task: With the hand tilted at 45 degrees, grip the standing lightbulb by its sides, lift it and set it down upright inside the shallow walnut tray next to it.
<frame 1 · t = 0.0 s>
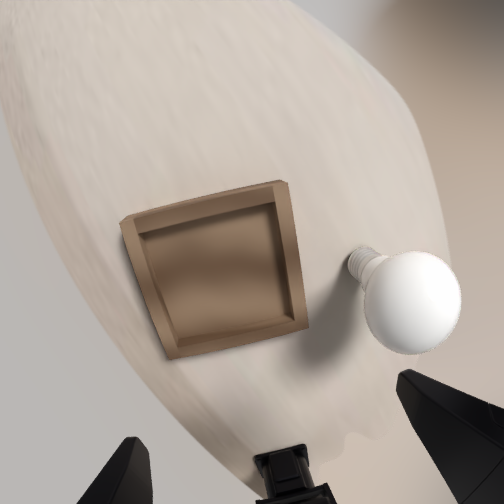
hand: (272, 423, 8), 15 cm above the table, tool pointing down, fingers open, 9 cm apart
walnut tray: (219, 269, 22), on the table
lightbulb: (357, 258, 24), on the table
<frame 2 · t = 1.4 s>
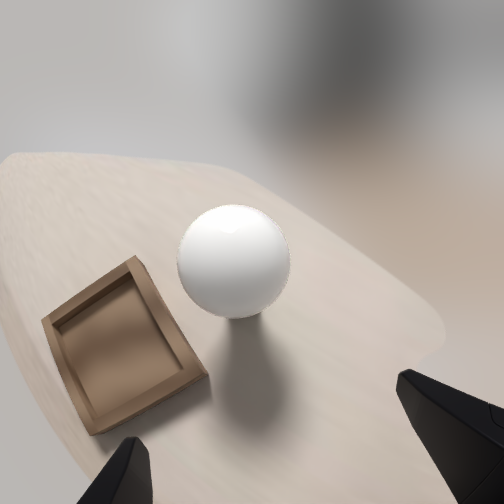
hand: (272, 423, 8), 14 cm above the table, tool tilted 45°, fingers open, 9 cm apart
walnut tray: (120, 349, 23), on the table
lightbulb: (242, 300, 24), on the table
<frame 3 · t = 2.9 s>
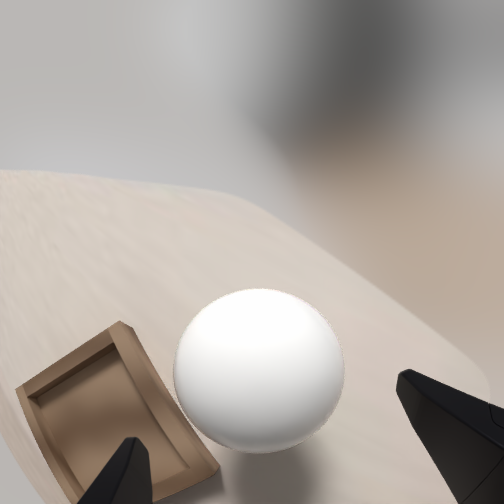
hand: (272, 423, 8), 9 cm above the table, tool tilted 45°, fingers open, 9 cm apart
walnut tray: (110, 431, 16), on the table
lightbulb: (260, 378, 18), on the table
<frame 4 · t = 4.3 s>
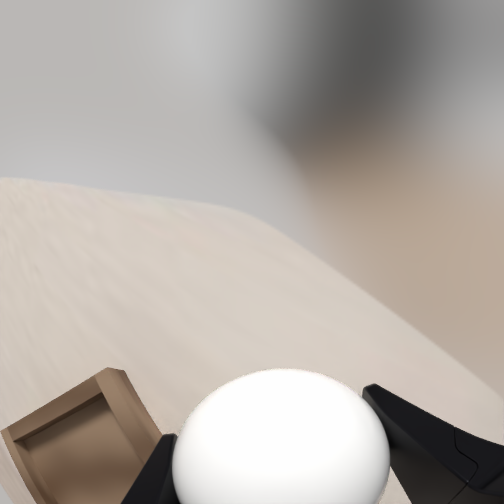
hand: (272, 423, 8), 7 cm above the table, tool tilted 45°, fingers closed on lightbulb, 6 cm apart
walnut tray: (105, 480, 13), on the table
lightbulb: (274, 430, 14), on the table, touching gripper
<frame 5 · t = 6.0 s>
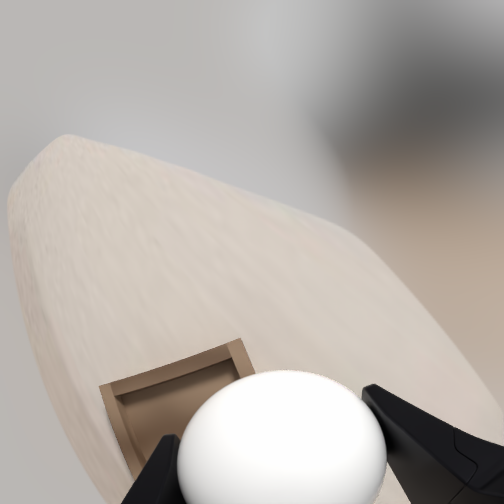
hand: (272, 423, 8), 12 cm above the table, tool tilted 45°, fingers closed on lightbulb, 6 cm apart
walnut tray: (200, 435, 19), on the table
lightbulb: (288, 425, 15), point 5 cm above the table, touching gripper
when the fingers open (9 cm above the table, at t = 7.8 s): lightbulb stays where it is, resting on walnut tray.
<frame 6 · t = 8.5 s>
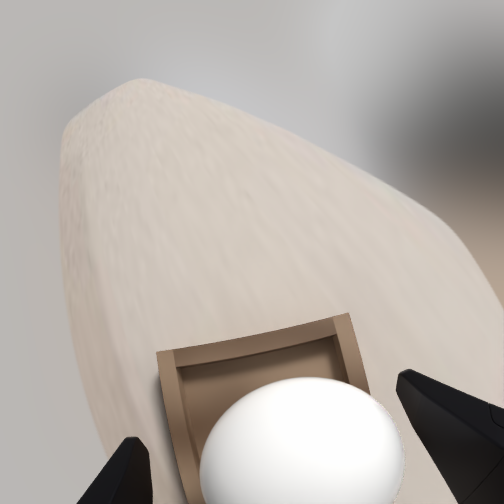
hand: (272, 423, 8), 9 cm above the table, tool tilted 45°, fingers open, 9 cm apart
walnut tray: (272, 426, 16), on the table
lightbulb: (284, 430, 15), point 1 cm above the table, touching walnut tray
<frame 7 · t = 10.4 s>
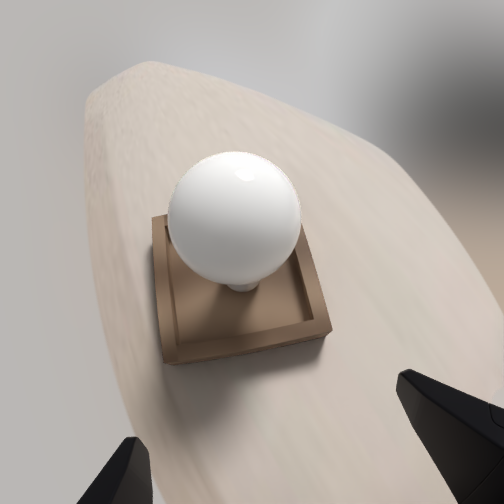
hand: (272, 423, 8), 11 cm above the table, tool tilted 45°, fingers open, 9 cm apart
walnut tray: (235, 280, 23), on the table
lightbulb: (243, 278, 22), point 1 cm above the table, touching walnut tray
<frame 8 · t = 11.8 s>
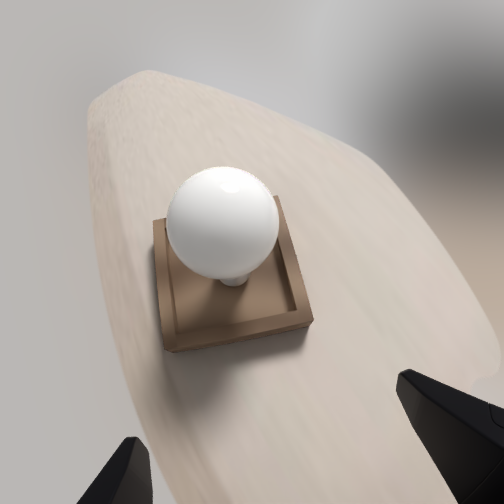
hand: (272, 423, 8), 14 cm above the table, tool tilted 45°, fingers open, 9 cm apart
walnut tray: (228, 276, 25), on the table
lightbulb: (234, 274, 24), point 1 cm above the table, touching walnut tray
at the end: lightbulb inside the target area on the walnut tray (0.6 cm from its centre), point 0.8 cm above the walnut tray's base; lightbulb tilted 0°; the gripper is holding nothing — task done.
